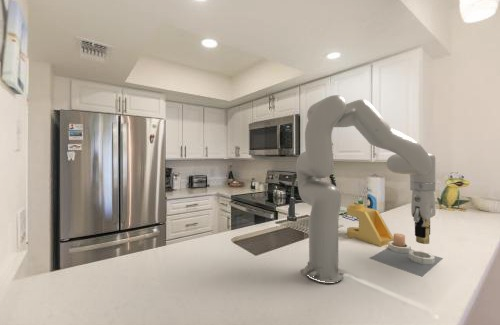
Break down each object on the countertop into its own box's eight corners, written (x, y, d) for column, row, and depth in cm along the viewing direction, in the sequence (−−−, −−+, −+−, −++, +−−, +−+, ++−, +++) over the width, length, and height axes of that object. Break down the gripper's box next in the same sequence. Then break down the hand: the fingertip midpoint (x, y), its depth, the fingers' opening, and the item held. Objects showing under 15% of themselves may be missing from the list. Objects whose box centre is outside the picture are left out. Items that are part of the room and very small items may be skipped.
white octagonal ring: (429, 266, 81) (430, 260, 81) (406, 258, 87) (406, 253, 87) (436, 260, 86) (436, 255, 86) (413, 253, 92) (413, 248, 92)
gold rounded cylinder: (427, 244, 84) (427, 216, 83) (414, 241, 87) (414, 214, 86) (431, 242, 86) (430, 214, 86) (418, 239, 89) (418, 212, 89)
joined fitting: (405, 254, 91) (405, 239, 91) (385, 248, 97) (385, 234, 97) (412, 250, 95) (413, 235, 95) (393, 244, 101) (393, 231, 101)
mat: (421, 280, 75) (422, 276, 75) (368, 261, 88) (369, 258, 88) (443, 261, 88) (443, 258, 88) (394, 247, 101) (394, 244, 101)
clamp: (342, 235, 117) (342, 204, 117) (355, 232, 121) (355, 202, 121) (380, 249, 99) (380, 212, 99) (393, 245, 103) (394, 210, 103)
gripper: (426, 190, 78) (426, 244, 78) (442, 185, 88) (442, 233, 88) (401, 188, 84) (402, 238, 84) (418, 183, 94) (419, 228, 94)
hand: (422, 234), depth 86 cm, fingers closed on gold rounded cylinder, 4 cm apart
